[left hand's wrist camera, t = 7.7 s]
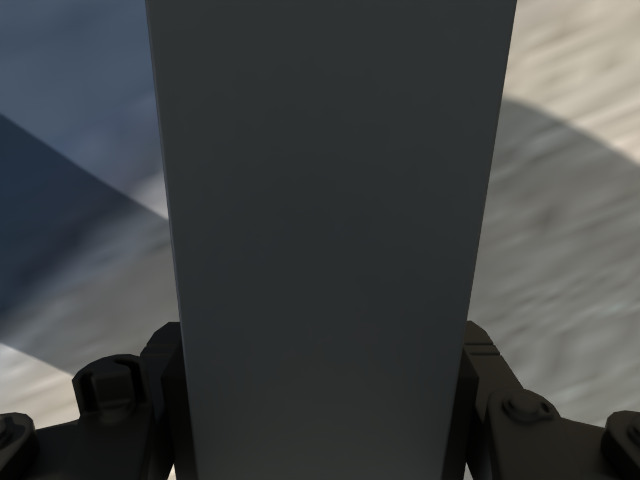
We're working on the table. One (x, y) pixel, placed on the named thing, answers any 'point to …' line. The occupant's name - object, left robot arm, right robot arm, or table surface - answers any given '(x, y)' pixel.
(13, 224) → the table surface
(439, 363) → the beam
